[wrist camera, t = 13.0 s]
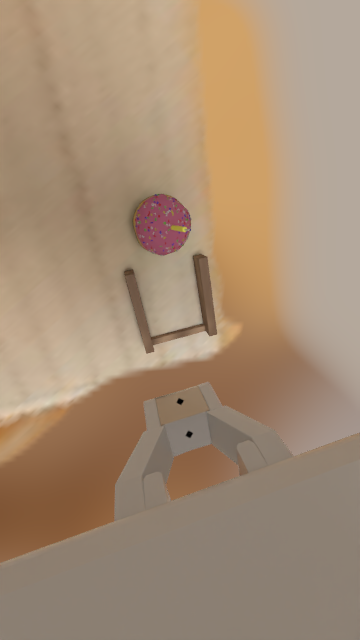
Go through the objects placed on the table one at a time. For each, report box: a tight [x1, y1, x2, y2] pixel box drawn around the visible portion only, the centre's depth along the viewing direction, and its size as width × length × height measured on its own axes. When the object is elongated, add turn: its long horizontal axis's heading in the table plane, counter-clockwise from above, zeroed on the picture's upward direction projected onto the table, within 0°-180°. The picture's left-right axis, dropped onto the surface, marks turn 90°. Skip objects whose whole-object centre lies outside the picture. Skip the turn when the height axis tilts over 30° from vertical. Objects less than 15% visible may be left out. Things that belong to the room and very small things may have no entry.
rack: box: [124, 254, 217, 353], centre depth 45 cm, size 14×15×4 cm
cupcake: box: [133, 194, 191, 255], centre depth 35 cm, size 9×8×12 cm
